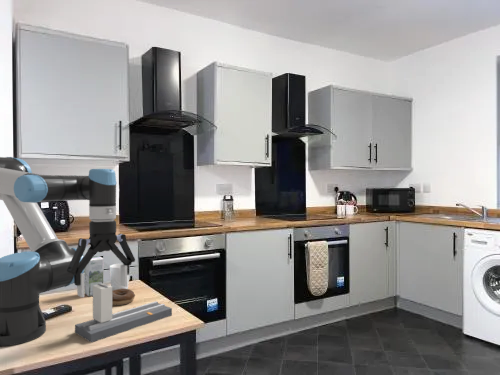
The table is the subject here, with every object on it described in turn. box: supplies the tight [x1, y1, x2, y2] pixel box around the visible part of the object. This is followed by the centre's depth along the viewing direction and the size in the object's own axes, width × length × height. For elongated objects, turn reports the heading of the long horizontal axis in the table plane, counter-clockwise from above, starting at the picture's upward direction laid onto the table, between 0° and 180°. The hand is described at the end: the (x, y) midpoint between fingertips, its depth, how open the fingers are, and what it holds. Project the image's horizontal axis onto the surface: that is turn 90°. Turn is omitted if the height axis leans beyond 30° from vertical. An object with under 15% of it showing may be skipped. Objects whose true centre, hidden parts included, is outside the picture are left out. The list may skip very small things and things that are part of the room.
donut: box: [112, 288, 136, 306], centre depth 139 cm, size 11×11×4 cm
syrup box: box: [84, 256, 105, 297], centre depth 147 cm, size 6×6×14 cm
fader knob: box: [92, 282, 113, 324], centre depth 111 cm, size 5×4×11 cm
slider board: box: [74, 300, 173, 343], centre depth 117 cm, size 10×28×3 cm, turn 140°
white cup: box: [109, 262, 131, 291], centre depth 154 cm, size 8×8×10 cm
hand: (103, 290), depth 111 cm, fingers open, 13 cm apart
